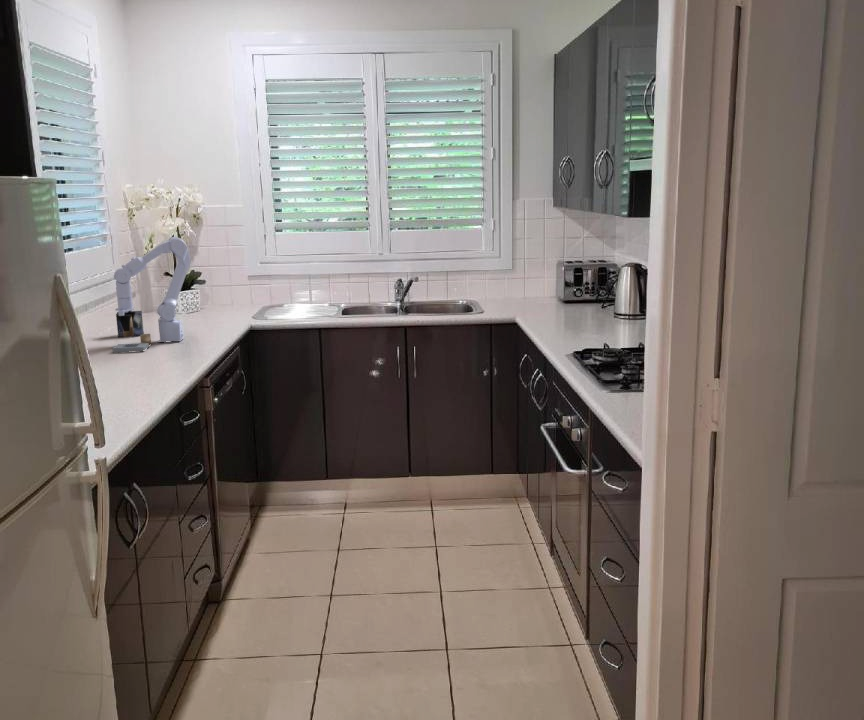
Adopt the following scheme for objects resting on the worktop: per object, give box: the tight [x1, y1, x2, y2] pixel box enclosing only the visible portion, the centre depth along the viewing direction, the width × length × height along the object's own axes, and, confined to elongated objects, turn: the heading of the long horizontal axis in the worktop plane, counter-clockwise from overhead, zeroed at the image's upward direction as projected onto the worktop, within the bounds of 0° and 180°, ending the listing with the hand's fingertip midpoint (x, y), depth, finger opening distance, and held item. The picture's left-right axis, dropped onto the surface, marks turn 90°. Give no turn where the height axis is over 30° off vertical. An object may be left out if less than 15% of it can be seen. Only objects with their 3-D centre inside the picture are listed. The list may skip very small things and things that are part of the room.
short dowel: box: [139, 333, 152, 345], centre depth 339 cm, size 4×4×4 cm
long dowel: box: [123, 317, 135, 338], centre depth 339 cm, size 4×4×8 cm
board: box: [112, 342, 150, 354], centre depth 329 cm, size 12×8×2 cm, turn 95°
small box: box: [115, 310, 145, 338], centre depth 360 cm, size 11×6×10 cm, turn 105°
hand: (128, 330), depth 340 cm, fingers closed on long dowel, 4 cm apart
